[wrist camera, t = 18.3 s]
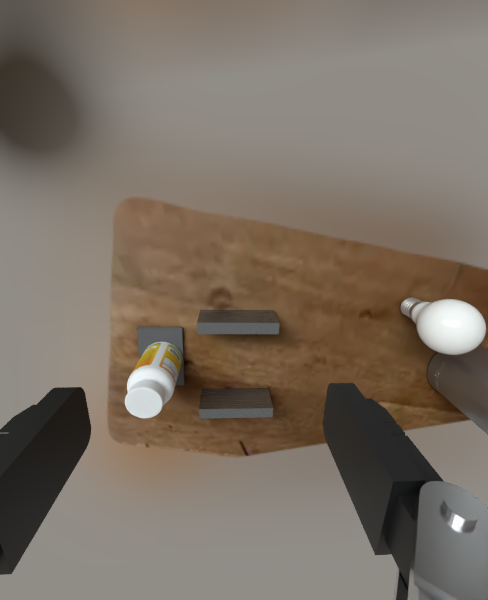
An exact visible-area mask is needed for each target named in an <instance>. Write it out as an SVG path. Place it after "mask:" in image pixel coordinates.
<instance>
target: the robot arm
mask: <svg viewBox="0 0 488 600" xmlns="http://www.w3.org/2000/svg"><path fill="white" fill-rule="evenodd" d="M427 377H428V381H429V383H430V384H431V386H432V387H433V388H434V389H435V390H437V391H438V392H439V393H440V394H441V395H443V396H444V397H445V398H446V399H447V400H448V401H450V402H451V403H452V404H453V405H454V406H455V407H456V408H458V409H459V410H460V411H461V412H462V413H463V414H465V415H466V416H467V417H468V418H469V419H470V420H472V421H473V422H474V423H475V424H476V425H478V426H479V427H480V428H481V429H482V430H484V431H485V432H486V433H487V434H488V349H486V348H484V347H482V346H481V345H479V346H478V347H476V348H475V349H474V350H472V351H470V352H467V353H464V354H460V355H447V354H442V353H439V352H437V353H436V354H435V355H434V356H433V358H432V360H431V361H430V363H429V366H428V370H427ZM323 428H324V435H325V439H326V442H327V444H328V446H329V449H330V451H331V453H332V456H333V458H334V460H335V462H336V465H337V467H338V469H339V472H340V474H341V476H342V479H343V481H344V483H345V486H346V488H347V490H348V492H349V495H350V497H351V500H352V502H353V504H354V506H355V509H356V511H357V514H358V516H359V518H360V521H361V523H362V525H363V528H364V530H365V532H366V534H367V537H368V539H369V541H370V544H371V546H372V548H373V551H374V553H375V555H387V554H392V556H393V558H394V560H395V562H396V564H397V566H398V570H397V575H396V582H395V591H394V600H488V507H487V506H486V505H485V504H484V503H483V502H481V501H480V500H479V499H478V498H477V497H475V496H474V495H472V494H471V493H469V492H468V491H466V490H464V489H462V488H460V487H458V486H456V485H453V484H451V483H447V482H444V481H443V480H442V479H441V477H440V476H439V475H438V474H437V472H436V471H435V470H434V469H433V468H432V466H431V465H430V464H429V462H428V461H427V460H426V459H425V457H424V456H423V455H422V454H421V453H420V451H419V450H418V449H417V448H416V446H415V445H414V444H413V442H412V441H411V440H410V439H409V437H408V436H405V432H404V431H403V430H402V429H401V427H400V426H399V425H397V424H396V421H395V420H394V419H393V418H392V416H391V415H390V414H389V413H388V411H387V410H386V409H385V408H383V407H382V406H381V405H379V404H378V403H377V402H375V401H374V400H372V399H365V398H364V396H363V395H362V394H361V392H360V391H359V390H358V388H357V387H356V386H355V384H353V383H331V384H329V386H328V389H327V397H326V404H325V412H324V420H323ZM90 435H91V424H90V419H89V413H88V408H87V402H86V397H85V392H84V390H83V389H82V388H81V387H74V388H73V387H72V388H71V387H70V388H69V387H68V388H53V389H52V390H51V391H50V392H49V393H48V394H47V395H46V396H45V397H44V398H43V399H42V400H41V401H40V402H39V403H38V404H37V405H32V406H31V407H29V408H27V409H26V410H24V411H23V412H21V413H20V414H18V415H16V416H14V417H13V418H12V419H11V420H10V421H9V422H8V423H7V424H6V425H5V426H4V427H3V428H2V429H1V430H0V574H12V572H13V570H14V569H15V567H16V565H17V564H18V562H19V560H20V559H21V557H22V555H23V554H24V552H25V550H26V548H27V547H28V545H29V543H30V542H31V540H32V539H33V537H34V535H35V534H36V532H37V530H38V528H39V527H40V525H41V523H42V522H43V520H44V518H45V517H46V515H47V513H48V512H49V510H50V508H51V507H52V505H53V503H54V502H55V500H56V498H57V496H58V495H59V493H60V491H61V490H62V488H63V486H64V485H65V483H66V481H67V480H68V478H69V476H70V475H71V473H72V471H73V470H74V468H75V466H76V465H77V463H78V461H79V460H80V458H81V456H82V455H83V453H84V451H85V450H86V448H87V445H88V443H89V439H90Z"/></svg>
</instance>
